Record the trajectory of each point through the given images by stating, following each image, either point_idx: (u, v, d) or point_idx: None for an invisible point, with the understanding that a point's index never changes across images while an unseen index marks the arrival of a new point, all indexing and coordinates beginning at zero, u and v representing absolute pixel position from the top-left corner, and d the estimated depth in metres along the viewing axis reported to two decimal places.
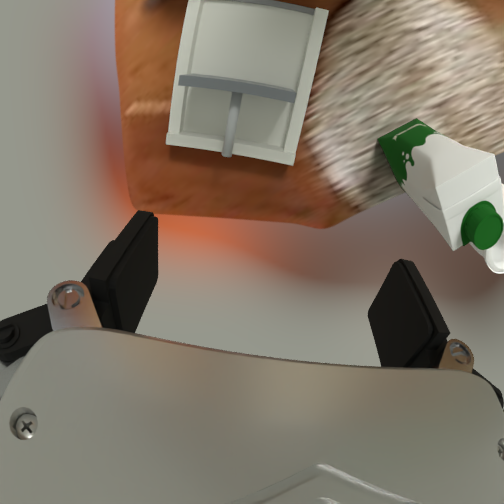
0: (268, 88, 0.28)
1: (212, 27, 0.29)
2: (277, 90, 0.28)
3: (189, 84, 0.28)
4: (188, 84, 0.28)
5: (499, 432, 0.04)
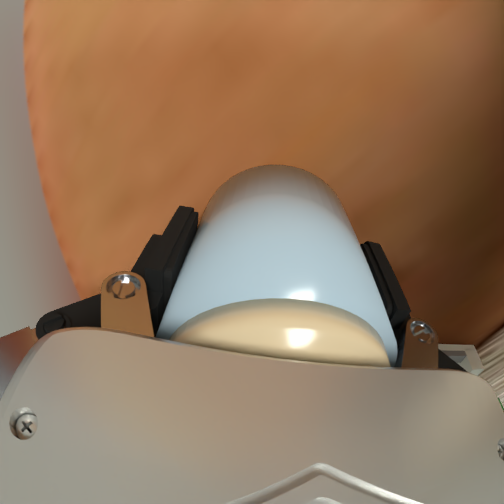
0: None
1: None
2: None
3: None
4: None
5: (499, 432, 0.04)
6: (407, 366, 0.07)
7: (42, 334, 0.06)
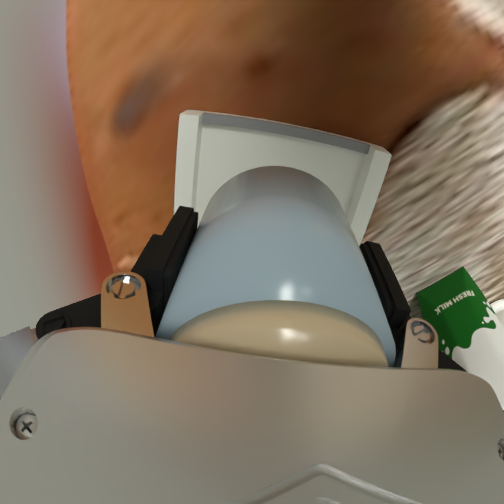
0: None
1: (218, 170, 0.25)
2: None
3: None
4: None
5: (499, 432, 0.04)
6: (407, 366, 0.07)
7: (42, 334, 0.06)
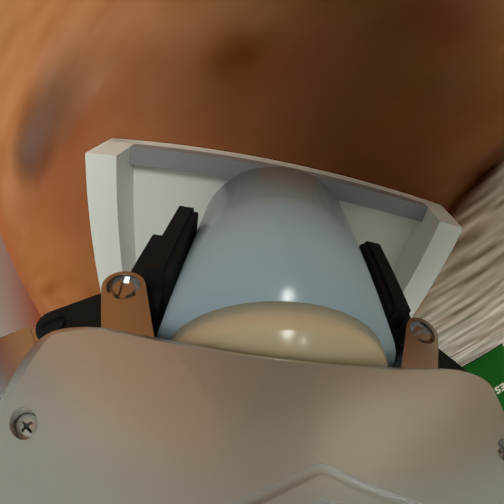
0: None
1: None
2: None
3: None
4: None
5: (499, 432, 0.04)
6: (407, 366, 0.07)
7: (42, 334, 0.06)
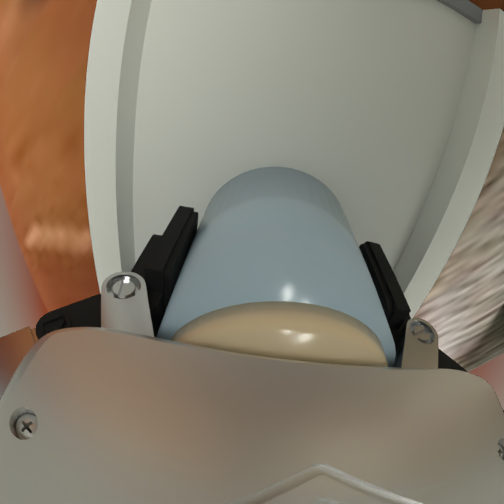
0: None
1: (189, 21, 0.09)
2: None
3: None
4: None
5: (499, 432, 0.04)
6: (407, 366, 0.07)
7: (43, 334, 0.06)
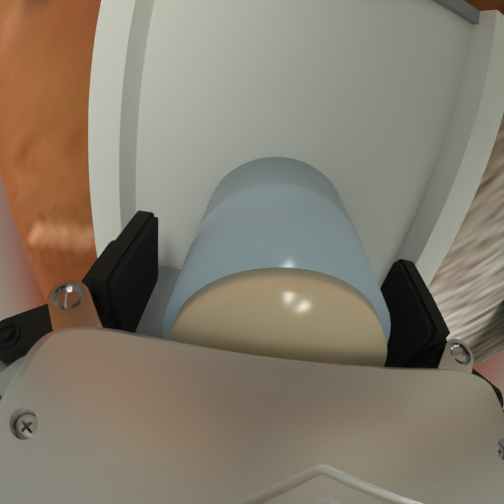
0: None
1: (191, 22, 0.09)
2: None
3: None
4: None
5: (499, 432, 0.04)
6: None
7: None
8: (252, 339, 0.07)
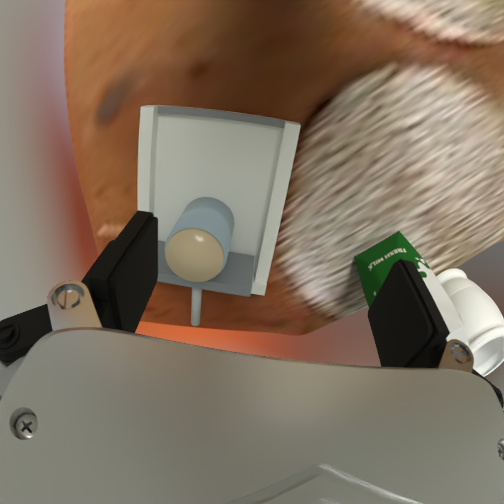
0: (224, 285, 0.32)
1: (171, 148, 0.31)
2: (232, 286, 0.32)
3: None
4: None
5: (499, 432, 0.04)
6: None
7: None
8: (185, 245, 0.28)
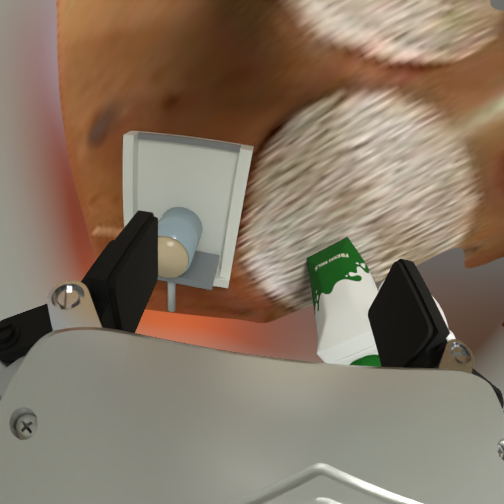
0: (190, 280, 0.39)
1: (149, 167, 0.38)
2: (197, 281, 0.39)
3: None
4: None
5: (499, 432, 0.04)
6: None
7: None
8: (158, 249, 0.35)
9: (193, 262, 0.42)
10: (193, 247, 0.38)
